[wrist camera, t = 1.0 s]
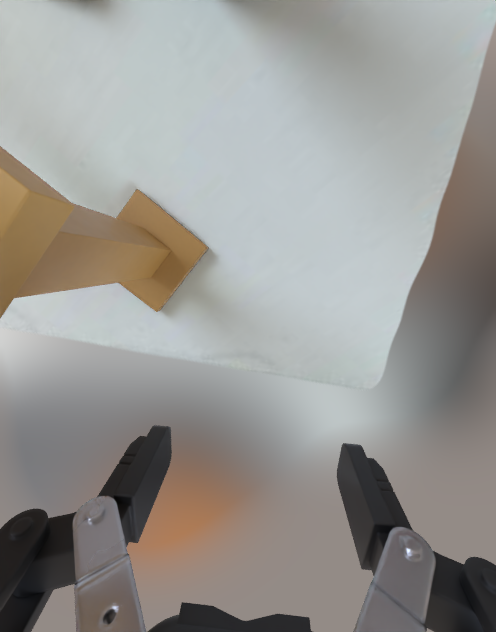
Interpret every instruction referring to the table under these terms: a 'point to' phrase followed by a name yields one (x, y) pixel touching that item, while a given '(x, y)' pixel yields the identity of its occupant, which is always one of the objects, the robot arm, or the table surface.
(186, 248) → the pedestal
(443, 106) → the table surface
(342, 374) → the table surface
